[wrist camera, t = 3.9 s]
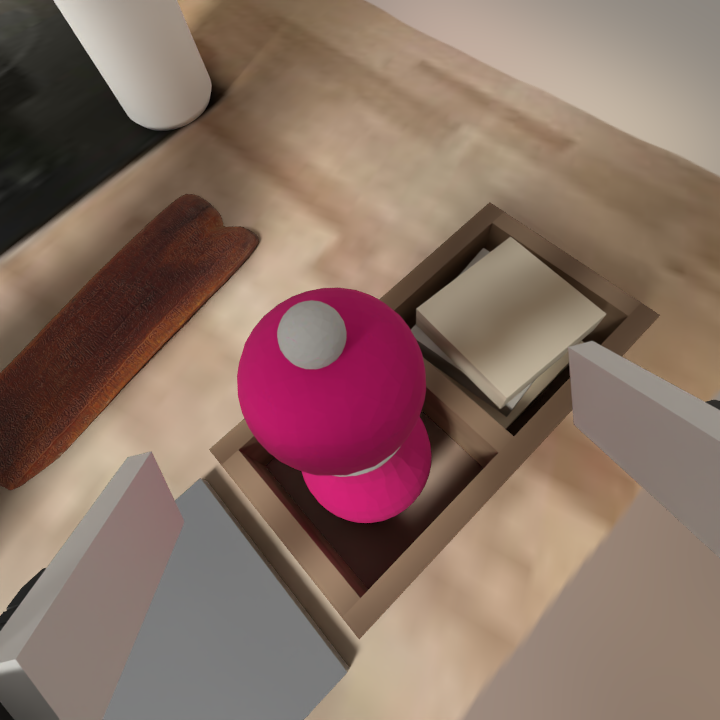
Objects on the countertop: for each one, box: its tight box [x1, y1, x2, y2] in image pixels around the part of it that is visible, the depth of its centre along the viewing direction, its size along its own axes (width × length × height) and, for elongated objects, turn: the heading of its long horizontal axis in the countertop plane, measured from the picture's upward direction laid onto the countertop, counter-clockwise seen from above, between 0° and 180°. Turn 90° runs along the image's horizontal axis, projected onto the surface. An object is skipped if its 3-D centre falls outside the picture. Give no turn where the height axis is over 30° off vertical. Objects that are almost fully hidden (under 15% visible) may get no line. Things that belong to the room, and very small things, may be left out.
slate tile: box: [102, 478, 349, 720], centre depth 26 cm, size 14×14×1 cm
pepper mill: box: [237, 288, 431, 523], centre depth 20 cm, size 7×7×20 cm
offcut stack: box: [411, 237, 606, 430], centre depth 29 cm, size 9×9×6 cm
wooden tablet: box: [0, 194, 259, 490], centre depth 35 cm, size 27×10×2 cm, turn 143°
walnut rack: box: [209, 203, 660, 639], centre depth 28 cm, size 12×24×5 cm, turn 133°
